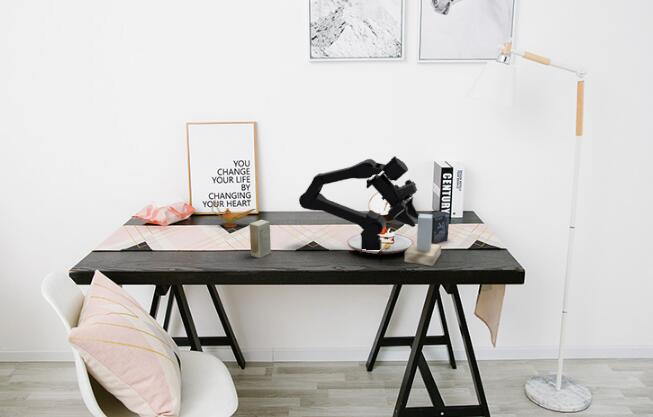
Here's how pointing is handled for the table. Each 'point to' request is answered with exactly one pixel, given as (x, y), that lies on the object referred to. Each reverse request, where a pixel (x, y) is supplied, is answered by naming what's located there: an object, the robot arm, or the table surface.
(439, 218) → the box
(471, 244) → the table surface
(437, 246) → the wooden block
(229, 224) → the magic lamp
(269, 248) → the skincare box
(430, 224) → the tall block
